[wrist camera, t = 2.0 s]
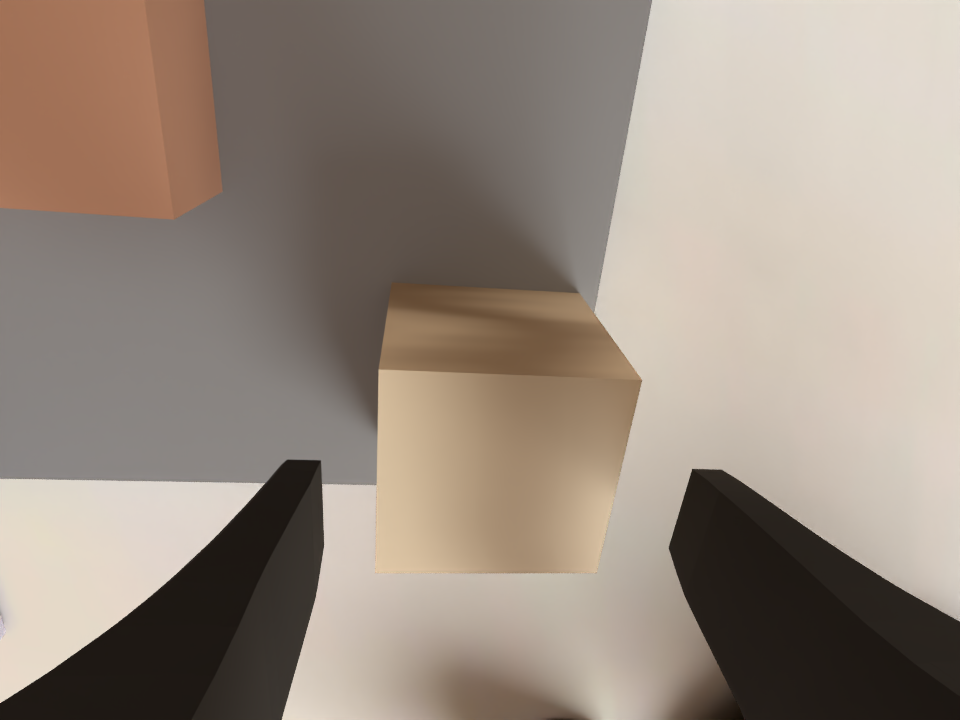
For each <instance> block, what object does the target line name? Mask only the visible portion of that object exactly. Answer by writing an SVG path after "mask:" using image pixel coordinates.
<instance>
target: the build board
mask: <svg viewBox="0 0 960 720" xmlns="http://www.w3.org/2000/svg"><path fill="white" fill-rule="evenodd" d="M651 3H652V0H0V479H58V480H117V481H176V482H235V483H266V482H267V481H268V480H269V478H270V477H271V476H272V475H273V474H274V473H275V471H276V470H277V469H278V468H279V467H280V465H281V464H282V463H284V462H285V461H286V460H287V459H289V460H321V470H322V484H353V485H377V436H378V376H379V364H380V357H381V350H382V344H383V337H384V330H385V324H386V317H387V310H388V304H389V297H390V290H391V284H392V282H393V283H410V284H428V285H445V286H463V287H480V288H497V289H515V290H532V291H550V292H567V293H580V295H581V296H582V297H583V299H584V300H585V302H586V303H587V304H588V306H589V307H590V309H591V310H592V311H593V313H594V310H595V305H596V300H597V294H598V289H599V283H600V278H601V273H602V267H603V262H604V256H605V251H606V246H607V240H608V235H609V229H610V224H611V219H612V213H613V208H614V203H615V197H616V192H617V186H618V181H619V176H620V170H621V165H622V159H623V154H624V149H625V143H626V138H627V132H628V127H629V122H630V116H631V111H632V106H633V100H634V95H635V89H636V84H637V79H638V73H639V68H640V62H641V57H642V52H643V46H644V41H645V35H646V30H647V25H648V19H649V14H650V8H651Z"/></svg>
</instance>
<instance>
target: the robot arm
mask: <svg viewBox="0 0 960 720" xmlns="http://www.w3.org/2000/svg"><path fill="white" fill-rule="evenodd" d="M323 549H324V530H323V500H322V470H321V460H289V459H287V460H286V461H285V462H284V463H282V464H281V465H280V467H279V468H278V469H277V470H276V471H275V473H274V474H273V475H272V476H271V477H270V478H269V480H268V481H267V482H266V483H265V484H264V485H263V487H262V488H261V489H260V490H259V491H258V492H257V493H256V494H255V496H254V497H253V498H252V499H251V500H250V501H249V502H248V503H247V504H246V506H245V507H244V508H243V509H242V510H241V511H240V512H239V513H238V514H237V515H236V516H235V517H234V518H233V519H232V520H231V521H230V522H229V523H228V525H227V526H226V527H225V528H224V529H223V530H222V531H221V532H220V533H219V534H218V535H217V536H216V537H215V538H214V539H213V540H212V541H211V542H210V543H209V544H208V545H207V546H206V547H205V548H204V549H202V550H201V551H200V552H199V553H198V554H197V555H196V556H195V557H194V558H193V559H192V560H191V561H190V562H189V563H188V564H187V565H186V566H184V567H183V568H182V569H181V570H180V571H179V572H178V573H177V574H176V575H175V576H174V577H172V578H171V579H170V580H169V581H168V582H167V583H166V584H164V585H163V586H162V587H161V588H160V589H159V590H158V591H156V592H155V593H154V594H153V595H152V596H150V597H149V598H148V599H147V600H146V601H144V602H143V603H142V604H141V605H139V606H138V607H137V608H136V609H134V610H133V611H132V612H131V613H129V614H128V615H127V616H126V617H124V618H123V619H122V620H121V621H119V622H118V623H117V624H115V625H114V626H113V627H111V628H110V629H109V630H107V631H106V632H105V633H103V634H102V635H101V636H99V637H98V638H96V639H95V640H94V641H92V642H91V643H89V644H88V645H87V646H85V647H84V648H82V649H81V650H79V651H78V652H77V653H75V654H74V655H72V656H71V657H70V658H68V659H67V660H65V661H64V662H63V663H61V664H60V665H58V666H57V667H56V668H54V669H53V670H51V671H50V672H48V673H47V674H45V675H44V676H42V677H41V678H39V679H38V680H36V681H34V682H33V683H31V684H30V685H28V686H27V687H25V688H24V689H22V690H20V691H19V692H17V693H16V694H14V695H13V696H11V697H10V698H8V699H6V700H5V701H3V702H1V703H0V720H282V716H283V712H284V709H285V705H286V702H287V698H288V695H289V691H290V687H291V684H292V680H293V677H294V673H295V670H296V666H297V663H298V659H299V656H300V652H301V648H302V645H303V641H304V638H305V634H306V631H307V627H308V623H309V620H310V616H311V612H312V609H313V605H314V601H315V598H316V592H317V586H318V580H319V574H320V568H321V562H322V555H323ZM669 550H670V553H671V557H672V560H673V563H674V566H675V569H676V572H677V575H678V578H679V581H680V584H681V587H682V589H683V592H684V595H685V597H686V600H687V602H688V604H689V606H690V608H691V610H692V612H693V614H694V616H695V618H696V621H697V623H698V625H699V627H700V629H701V631H702V633H703V635H704V637H705V639H706V641H707V643H708V645H709V647H710V649H711V651H712V653H713V655H714V657H715V659H716V661H717V663H718V665H719V667H720V669H721V671H722V673H723V675H724V677H725V679H726V681H727V683H728V685H729V687H730V689H731V691H732V693H733V695H734V697H735V699H736V702H737V704H738V706H739V708H740V710H741V712H742V714H743V716H744V719H745V720H960V622H959V621H958V620H956V619H954V618H952V617H950V616H948V615H946V614H945V613H943V612H941V611H939V610H938V609H936V608H934V607H932V606H930V605H929V604H927V603H925V602H923V601H922V600H920V599H918V598H916V597H914V596H913V595H911V594H909V593H907V592H906V591H904V590H902V589H901V588H899V587H897V586H895V585H894V584H892V583H890V582H889V581H887V580H886V579H884V578H882V577H881V576H879V575H878V574H876V573H874V572H873V571H871V570H870V569H868V568H867V567H865V566H863V565H862V564H860V563H859V562H857V561H856V560H854V559H852V558H851V557H849V556H848V555H846V554H845V553H843V552H842V551H840V550H839V549H837V548H836V547H834V546H833V545H831V544H830V543H828V542H827V541H825V540H824V539H822V538H821V537H819V536H818V535H816V534H815V533H814V532H812V531H811V530H809V529H808V528H806V527H805V526H803V525H802V524H801V523H799V522H798V521H796V520H795V519H793V518H792V517H791V516H789V515H788V514H786V513H785V512H784V511H782V510H781V509H779V508H778V507H776V506H775V505H774V504H772V503H771V502H769V501H768V500H767V499H765V498H764V497H762V496H761V495H759V494H758V493H757V492H755V491H754V490H752V489H751V488H749V487H748V486H746V485H745V484H743V483H742V482H740V481H739V480H737V479H736V478H734V477H733V476H731V475H729V474H728V473H726V472H724V471H723V470H708V469H692V472H691V476H690V479H689V482H688V485H687V489H686V492H685V495H684V499H683V502H682V505H681V509H680V512H679V515H678V519H677V522H676V525H675V529H674V532H673V535H672V539H671V542H670V545H669ZM5 633H6V632H5V627H4V624H3V621H2V619H1V616H0V640H1V639H2V637H3V636H4V635H5Z"/></svg>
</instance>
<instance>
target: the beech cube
mask: <svg viewBox="0 0 960 720" xmlns="http://www.w3.org/2000/svg"><path fill="white" fill-rule="evenodd" d="M641 382H642V379H641V378H640V376H639V375H638V374H637V372H636V371H635V370H634V368H633V367H632V365H631V364H630V363H629V361H628V360H627V358H626V357H625V356H624V354H623V353H622V352H621V350H620V349H619V347H618V346H617V345H616V343H615V342H614V340H613V339H612V338H611V336H610V335H609V333H608V332H607V331H606V329H605V328H604V327H603V325H602V324H601V322H600V321H599V320H598V318H597V317H596V315H595V314H594V313H593V311H592V310H591V309H590V307H589V306H588V304H587V303H586V302H585V300H584V299H583V297H582V296H581V295H580V293H567V292H550V291H532V290H515V289H497V288H480V287H463V286H445V285H428V284H410V283H393V282H392V284H391V290H390V297H389V304H388V310H387V317H386V324H385V330H384V337H383V344H382V350H381V357H380V364H379V376H378V436H377V496H376V556H375V573H597V569H598V565H599V560H600V556H601V552H602V548H603V543H604V539H605V535H606V531H607V526H608V522H609V518H610V514H611V509H612V505H613V501H614V497H615V493H616V488H617V484H618V480H619V476H620V471H621V467H622V463H623V459H624V454H625V450H626V446H627V442H628V437H629V433H630V429H631V425H632V420H633V416H634V412H635V408H636V403H637V399H638V395H639V391H640V386H641Z"/></svg>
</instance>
